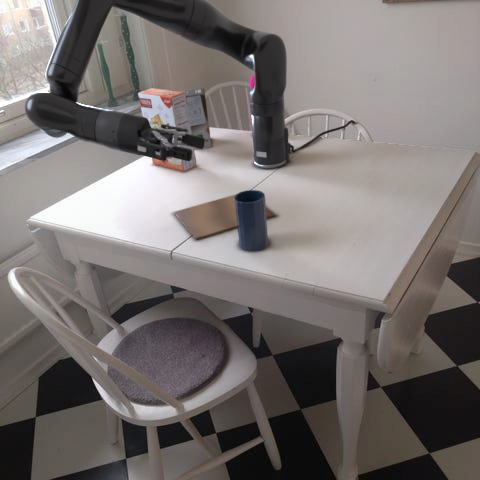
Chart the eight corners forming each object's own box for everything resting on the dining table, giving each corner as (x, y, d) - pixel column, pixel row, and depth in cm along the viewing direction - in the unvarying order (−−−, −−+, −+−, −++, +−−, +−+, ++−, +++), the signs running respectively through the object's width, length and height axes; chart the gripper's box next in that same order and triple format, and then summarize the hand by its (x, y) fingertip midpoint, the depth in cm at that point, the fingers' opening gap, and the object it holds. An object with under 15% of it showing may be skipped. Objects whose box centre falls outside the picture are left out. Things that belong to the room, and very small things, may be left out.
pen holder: (260, 234, 110) (256, 187, 103) (272, 245, 105) (270, 197, 98) (234, 242, 108) (229, 195, 101) (246, 254, 103) (242, 205, 97)
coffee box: (211, 147, 159) (205, 94, 149) (192, 149, 159) (184, 96, 149) (210, 138, 166) (204, 87, 156) (191, 140, 166) (184, 89, 156)
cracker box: (151, 164, 151) (136, 92, 138) (166, 158, 155) (152, 86, 142) (183, 173, 143) (170, 96, 131) (197, 165, 147) (186, 91, 134)
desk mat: (246, 193, 128) (245, 191, 128) (274, 216, 116) (274, 214, 116) (173, 213, 122) (173, 212, 122) (196, 240, 111) (195, 238, 110)
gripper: (107, 121, 94) (188, 140, 92) (137, 105, 105) (209, 121, 103) (108, 160, 98) (185, 178, 97) (136, 140, 109) (206, 157, 108)
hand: (198, 149), depth 100 cm, fingers open, 8 cm apart
